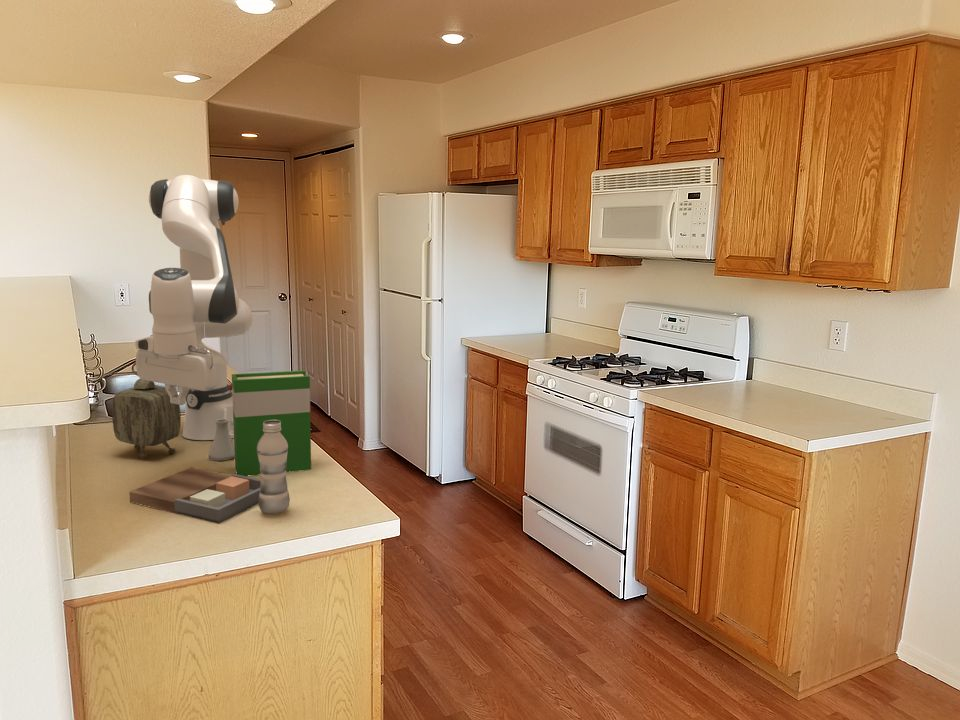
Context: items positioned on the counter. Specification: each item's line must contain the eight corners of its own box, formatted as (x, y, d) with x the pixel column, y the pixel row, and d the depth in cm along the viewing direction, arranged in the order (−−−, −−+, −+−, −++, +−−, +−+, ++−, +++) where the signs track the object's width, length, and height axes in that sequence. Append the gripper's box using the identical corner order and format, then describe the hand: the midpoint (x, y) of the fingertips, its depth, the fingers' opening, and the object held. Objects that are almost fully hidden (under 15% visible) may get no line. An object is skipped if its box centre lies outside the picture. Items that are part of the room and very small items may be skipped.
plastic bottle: (295, 507, 160) (293, 419, 156) (280, 519, 153) (278, 427, 150) (268, 504, 161) (266, 416, 157) (252, 516, 155) (249, 425, 151)
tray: (234, 486, 171) (233, 473, 171) (275, 494, 167) (275, 482, 166) (175, 513, 155) (174, 499, 155) (219, 523, 151) (218, 510, 150)
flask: (227, 451, 197) (226, 415, 195) (243, 457, 192) (242, 420, 190) (203, 457, 191) (201, 420, 189) (218, 463, 187) (216, 425, 185)
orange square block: (232, 488, 168) (232, 476, 168) (249, 492, 166) (249, 479, 166) (216, 495, 164) (215, 483, 163) (233, 499, 162) (233, 486, 161)
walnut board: (191, 477, 176) (191, 467, 176) (234, 486, 171) (234, 475, 171) (130, 502, 160) (129, 491, 160) (175, 513, 155) (174, 502, 155)
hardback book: (306, 460, 191) (304, 370, 186) (311, 469, 184) (309, 376, 179) (235, 467, 184) (231, 374, 180) (237, 477, 177) (234, 380, 173)
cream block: (207, 502, 160) (207, 489, 159) (225, 506, 158) (225, 493, 158) (190, 510, 156) (189, 496, 155) (208, 514, 154) (208, 500, 153)
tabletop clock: (182, 453, 194) (178, 360, 189) (159, 463, 185) (154, 366, 180) (136, 447, 197) (130, 356, 193) (111, 457, 189) (104, 362, 184)
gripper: (222, 346, 160) (224, 407, 163) (152, 335, 167) (155, 394, 170) (201, 351, 154) (204, 414, 157) (129, 340, 161) (133, 400, 165)
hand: (178, 403), depth 164 cm, fingers closed
